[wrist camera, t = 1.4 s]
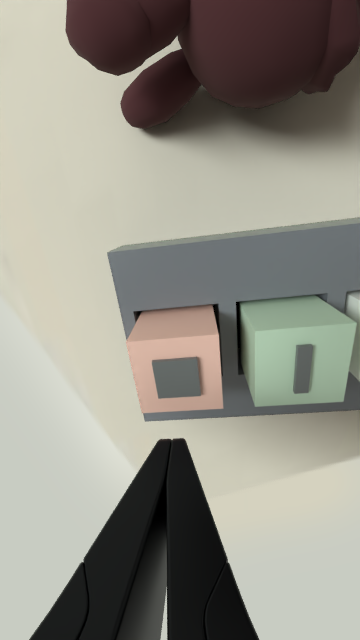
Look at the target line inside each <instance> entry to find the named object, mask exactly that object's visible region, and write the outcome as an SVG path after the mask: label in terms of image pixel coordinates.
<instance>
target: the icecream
mask: <svg viewBox="0 0 360 640" xmlns="http://www.w3.org/2000/svg"><path fill="white" fill-rule="evenodd" d="M66 34H67V37H68V40H69V43H70V45H71V46H72V48H73V49H74V50H75V51H76V53H77V54H78V55H79V56H81V57H82V58H84V59H86V60H87V61H88V62H89V63H91V64H92V65H93V66H94V67H95V68H97V69H98V70H101V71H104V72H107V73H110V74H113V75H117V76H119V75H122V74H125V73H128V72H131V71H133V70H134V69H136V68H138V67H139V66H141V65H142V64H143V63H144V61H145V60H146V59H148V58H149V57H151V56H152V55H154V54H155V53H157V52H159V51H160V50H162V49H163V48H165V47H167V46H168V45H170V44H171V43H172V41H173V40H174V39H175V38H176V37H177V35H178V41H179V43H180V46H181V48H182V49H180V50H177V51H174V52H171V53H169V54H168V55H166V56H165V57H163V58H162V59H160V60H159V61H157V62H156V63H154V64H153V65H151V66H149V67H148V68H146V69H145V70H143V71H142V72H141V73H140V74H139V76H138V77H137V78H136V79H135V80H134V81H133V82H132V83H131V85H130V86H129V87H128V88H127V89H126V90H125V91H124V94H123V97H122V100H121V109H122V113H123V115H124V117H125V119H126V121H127V122H128V123H129V124H130V125H131V126H133V127H137V128H142V129H147V128H149V127H152V126H155V125H158V124H161V123H164V122H166V121H168V120H169V119H170V118H171V117H172V116H173V115H174V114H175V113H177V112H178V111H179V110H180V109H181V108H182V107H183V106H184V105H186V104H187V103H188V102H189V101H190V99H191V98H192V97H193V95H194V94H195V92H196V91H197V90H198V88H199V87H200V86H201V84H202V85H203V87H204V88H205V89H206V90H207V92H208V93H209V94H210V95H211V96H212V97H214V98H217V99H219V100H221V101H223V102H225V103H227V104H230V105H232V106H234V107H245V108H262V107H265V106H268V105H271V104H274V103H277V102H280V101H283V100H286V99H289V98H290V97H292V96H294V95H295V94H297V93H298V92H299V91H300V90H302V91H303V92H305V93H307V94H312V93H315V92H327V91H328V90H329V88H330V86H331V84H332V82H333V80H334V78H335V76H336V74H337V73H339V72H340V71H341V70H342V69H343V68H345V67H346V66H347V65H348V64H349V63H350V62H351V60H352V59H353V58H354V56H355V55H356V53H357V51H358V49H359V46H360V0H67V14H66Z"/></svg>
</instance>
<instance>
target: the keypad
mask: <svg viewBox="0 0 360 640" xmlns="http://www.w3.org/2000/svg"><path fill="white" fill-rule="evenodd" d="M107 254H108V259H109V263H110V268H111V272H112V277H113V281H114V285H115V290H116V294H117V299H118V303H119V308H120V312H121V317H122V321H123V326H124V330H125V335H126V339H128V337H129V335H130V333H131V331H132V329H133V328H134V326H135V324H136V322H137V320H138V318H139V316H140V314H141V312H142V311H145V310H154V309H164V308H175V307H185V306H196V305H207V304H215V310H216V324H217V329H218V333H219V347H220V363H221V379H222V395H223V409H207V410H190V411H172V412H155V413H143V415H144V419H145V421H164V420H182V419H201V418H219V417H238V416H256V415H275V414H294V413H312V412H331V411H349V410H360V381H359V380H358V379H357V378H356V377H355V376H354V375H353V374H352V373H351V372H350V371H349V372H348V378H347V383H346V389H345V395H344V401H343V402H330V403H313V404H295V405H278V406H260V407H255V405H254V402H253V399H252V396H251V393H250V390H249V386H248V383H247V380H246V377H245V374H244V371H243V368H242V365H241V350H240V349H237V320H236V302H238V301H249V300H260V299H270V298H281V297H292V296H305V295H315V296H317V297H319V298H320V299H322V300H323V301H325V302H326V303H328V304H329V305H331V306H332V307H334V308H335V309H337V310H338V311H340V312H341V313H344V306H345V300H346V293H347V291H355V290H360V218H351V219H343V220H335V221H326V222H318V223H309V224H301V225H292V226H284V227H276V228H267V229H259V230H250V231H242V232H233V233H225V234H216V235H208V236H200V237H191V238H183V239H174V240H166V241H157V242H149V243H141V244H132V245H124V246H121V247H119V248H116V249H114V250H112V251H110V252H107Z"/></svg>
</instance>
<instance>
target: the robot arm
mask: <svg viewBox="0 0 360 640" xmlns="http://www.w3.org/2000/svg"><path fill="white" fill-rule="evenodd" d="M166 587H167V635H168V636H167V637H168V640H259V638H258V636H257V633H256V631H255V629H254V627H253V625H252V622H251V620H250V617H249V615H248V612H247V610H246V608H245V605H244V602H243V599H242V597H241V594H240V591H239V589H238V586H237V584H236V581H235V578H234V575H233V572H232V570H231V567H230V564H229V563H228V559H227V556H226V553H225V551H224V548H223V545H222V542H221V539H220V536H219V534H218V530H217V528H216V525H215V522H214V519H213V516H212V514H211V511H210V508H209V505H208V502H207V500H206V497H205V494H204V491H203V488H202V485H201V483H200V480H199V477H198V474H197V471H196V469H195V466H194V463H193V460H192V457H191V454H190V452H189V449H188V446H187V443H186V441H185V439H184V438H179V439H173V440H171V439H160V440H158V442H157V443H156V445H155V446H154V448H153V449H152V451H151V453H150V454H149V456H148V457H147V459H146V461H145V462H144V464H143V465H142V467H141V468H140V470H139V472H138V473H137V475H136V477H135V478H134V480H133V481H132V483H131V484H130V486H129V488H128V489H127V491H126V492H125V494H124V496H123V497H122V499H121V500H120V502H119V503H118V505H117V507H116V508H115V510H114V511H113V513H112V514H111V516H110V518H109V519H108V521H107V522H106V524H105V526H104V527H103V529H102V530H101V532H100V534H99V535H98V537H97V538H96V540H95V541H94V543H93V545H92V546H91V548H90V549H89V551H88V553H87V554H86V556H85V557H84V562H82V563H80V565H79V567H78V568H77V570H76V571H75V573H74V574H73V576H72V578H71V579H70V581H69V582H68V584H67V585H66V587H65V588H64V590H63V592H62V593H61V595H60V596H59V598H58V599H57V601H56V602H55V604H54V605H53V607H52V608H51V610H50V611H49V613H48V614H47V615H46V617H45V618H44V620H43V621H42V622H41V624H40V625H39V627H38V628H37V629H36V631H35V632H34V634H33V635H32V636H31V638H30V639H29V640H160V638H161V628H162V621H163V612H164V603H165V595H166Z"/></svg>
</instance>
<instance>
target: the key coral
mask: <svg viewBox="0 0 360 640" xmlns="http://www.w3.org/2000/svg"><path fill="white" fill-rule="evenodd" d="M126 344H127V349H128V353H129V358H130V362H131V367H132V371H133V375H134V380H135V384H136V389H137V393H138V398H139V402H140V406H141V411H142V413H155V412H172V411H190V410H207V409H223V395H222V379H221V363H220V347H219V333H218V329H217V324H216V320H215V315H214V311H213V306H212V304H209V305H199V306H188V307H177V308H167V309H156V310H145V311H142V312H141V314H140V316H139V318H138V320H137V322H136V324H135V326H134V328H133V329H132V331H131V333H130V335H129V337H128V339H127V341H126Z"/></svg>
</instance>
